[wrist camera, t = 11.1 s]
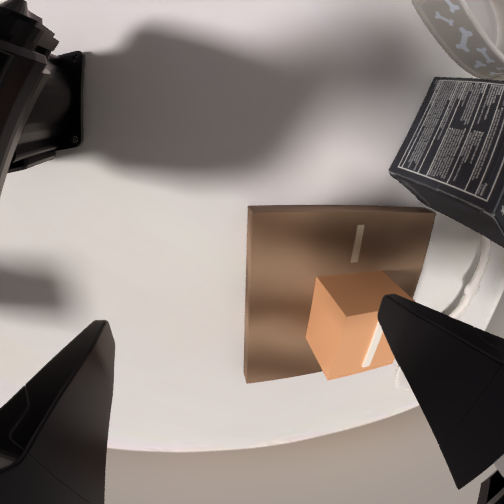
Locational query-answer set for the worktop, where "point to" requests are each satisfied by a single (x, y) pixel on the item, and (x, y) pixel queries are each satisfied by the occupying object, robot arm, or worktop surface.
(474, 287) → the spoon
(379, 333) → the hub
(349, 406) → the worktop surface
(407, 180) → the small box
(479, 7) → the dog bowl
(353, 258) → the base plate
